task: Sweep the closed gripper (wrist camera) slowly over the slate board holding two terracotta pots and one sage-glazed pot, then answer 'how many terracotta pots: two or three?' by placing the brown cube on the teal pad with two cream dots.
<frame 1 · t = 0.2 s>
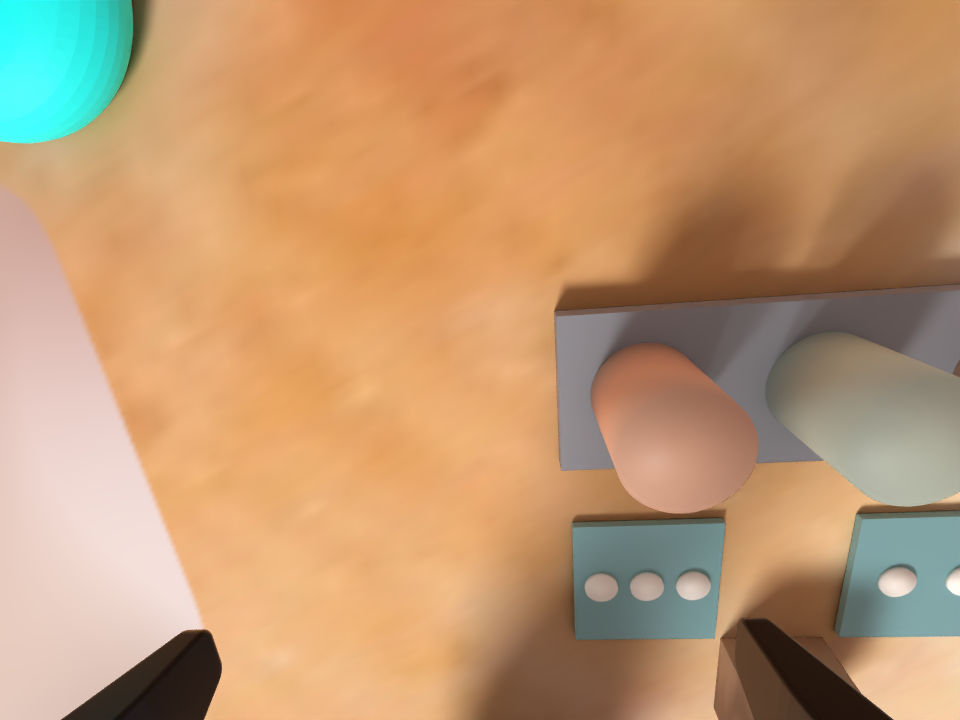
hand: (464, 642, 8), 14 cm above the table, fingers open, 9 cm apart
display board: (808, 375, 20), on the table
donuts: (24, 0, 18), on the table
pad two: (922, 573, 23), on the table
brown cube: (764, 672, 26), on the table
pad three: (644, 578, 24), on the table
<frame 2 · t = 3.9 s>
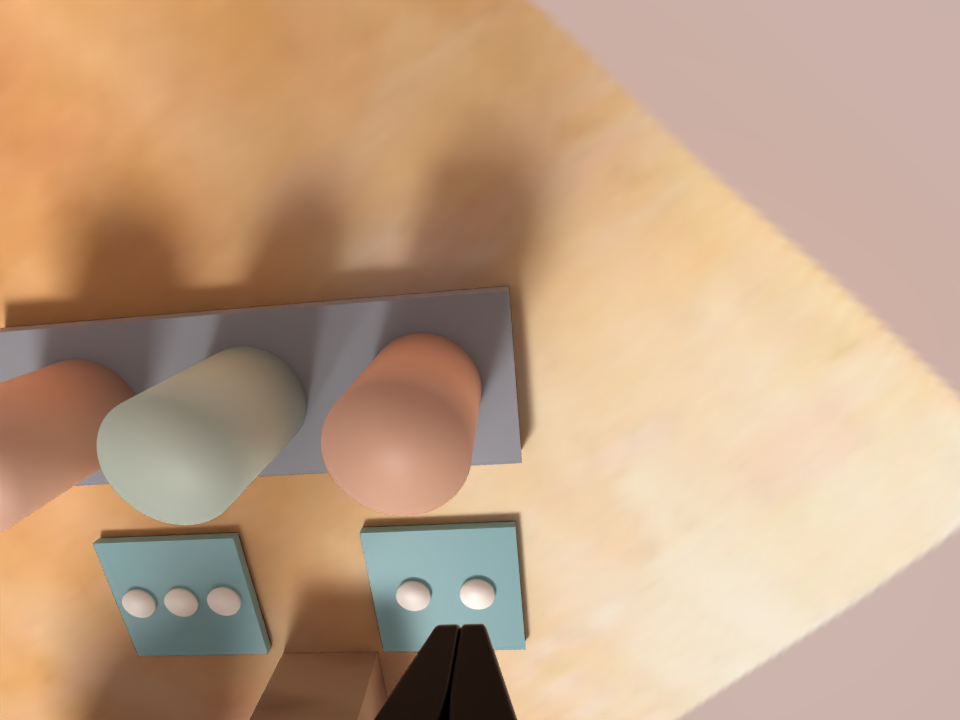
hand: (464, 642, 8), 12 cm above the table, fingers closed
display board: (264, 389, 20), on the table
pad two: (446, 586, 23), on the table
brown cube: (339, 687, 26), on the table
pad three: (188, 594, 24), on the table
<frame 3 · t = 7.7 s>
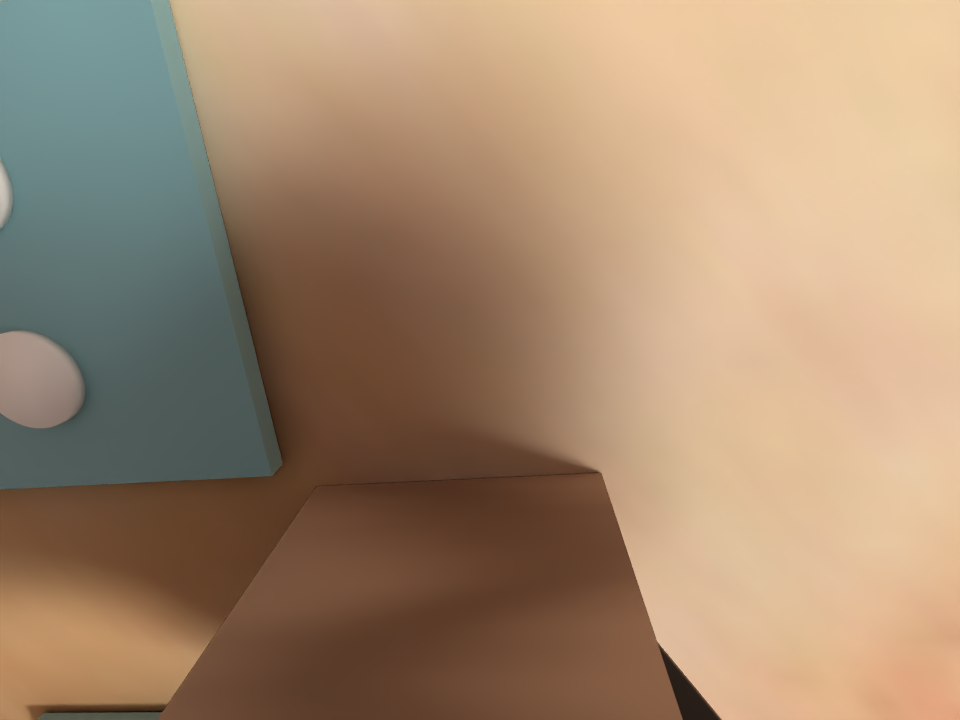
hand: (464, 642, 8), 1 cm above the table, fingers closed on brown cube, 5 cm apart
pad two: (24, 281, 8), on the table
brown cube: (469, 594, 9), on the table, touching gripper
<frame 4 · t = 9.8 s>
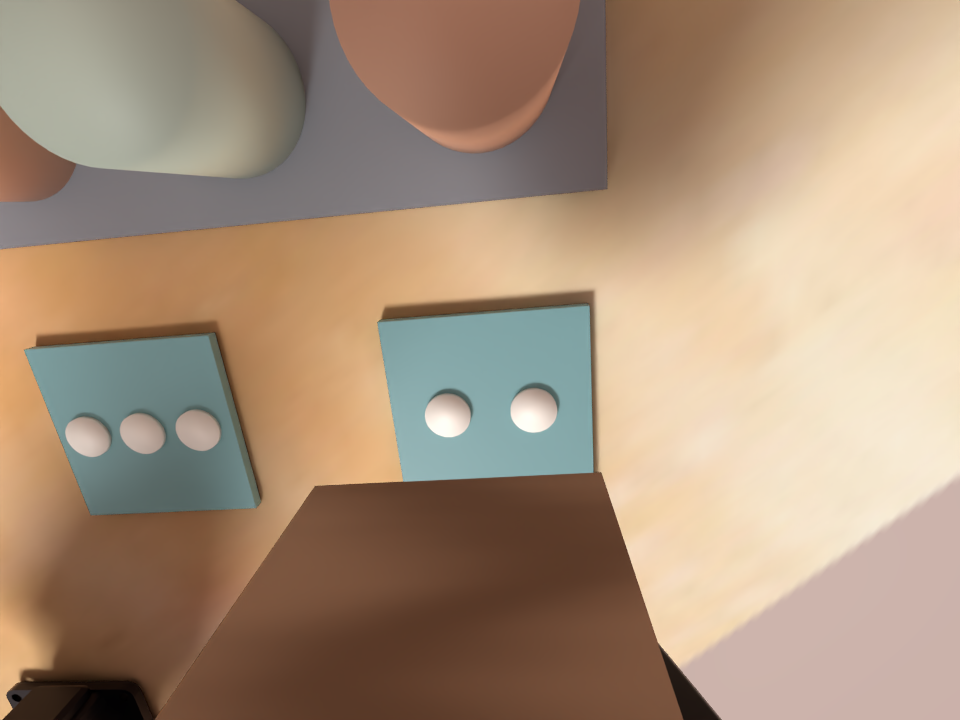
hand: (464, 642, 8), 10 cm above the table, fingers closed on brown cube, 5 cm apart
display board: (247, 102, 15), on the table
pad two: (491, 407, 17), on the table
brown cube: (468, 594, 9), point 9 cm above the table, touching gripper
pad three: (152, 427, 18), on the table
when the fingers open (2 cm above the table, at t = 11.8 s): brown cube stays where it is, resting on pad two.
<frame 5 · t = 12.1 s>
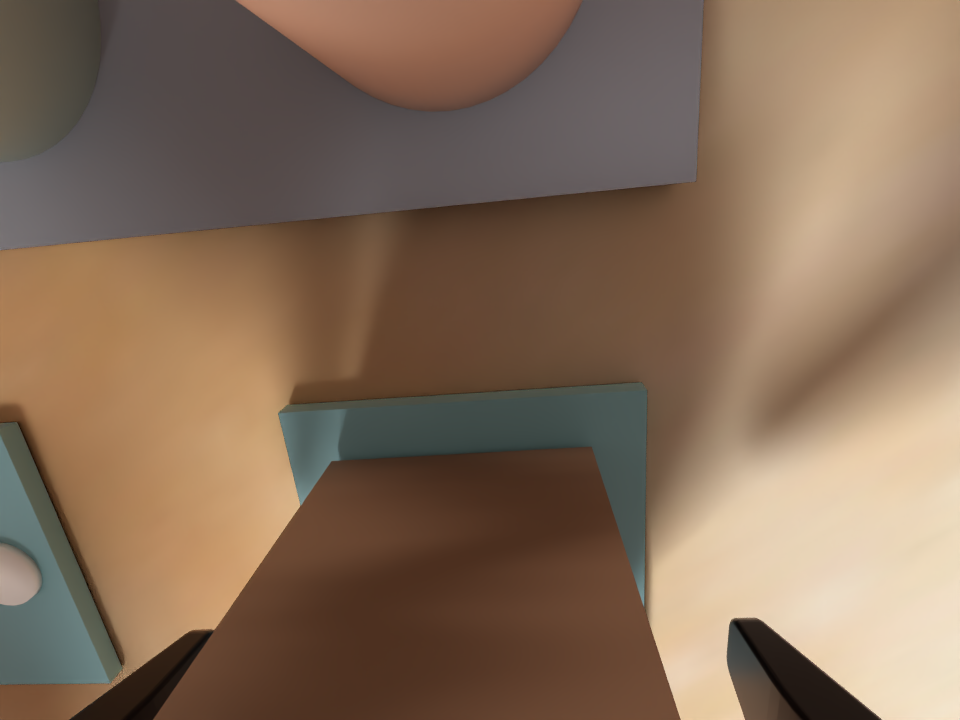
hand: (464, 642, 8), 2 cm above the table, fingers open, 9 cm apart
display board: (17, 21, 8), on the table
pad two: (475, 542, 11), on the table
brown cube: (471, 561, 10), point 1 cm above the table, touching pad two
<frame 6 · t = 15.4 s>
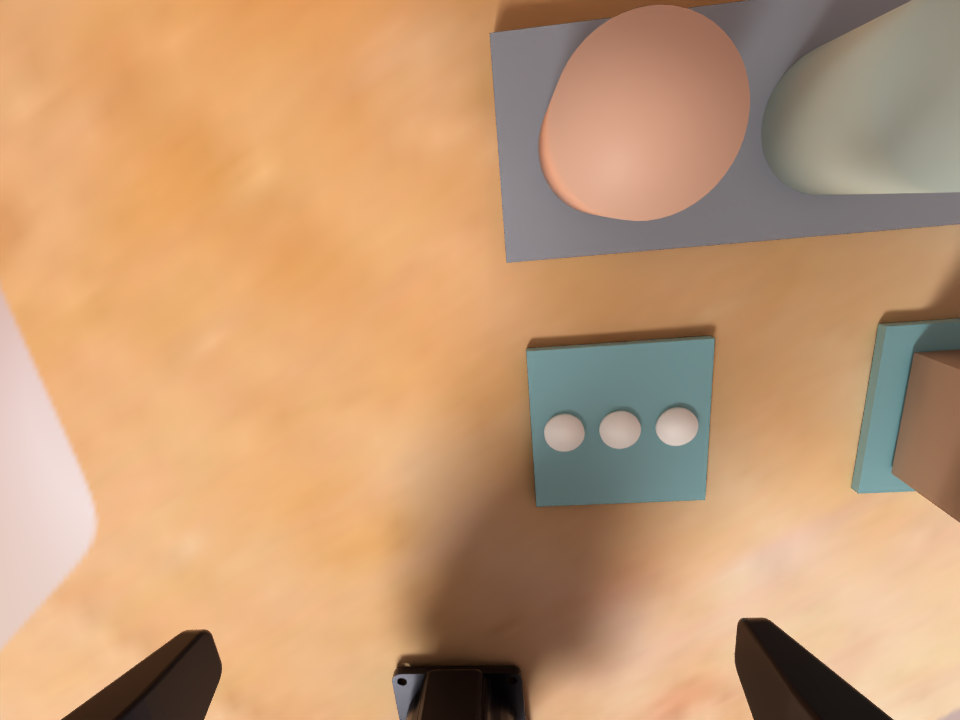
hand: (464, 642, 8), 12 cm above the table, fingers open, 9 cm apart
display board: (816, 125, 16), on the table
pad three: (617, 424, 20), on the table
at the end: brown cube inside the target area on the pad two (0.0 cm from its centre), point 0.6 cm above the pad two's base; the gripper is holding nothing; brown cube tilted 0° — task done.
